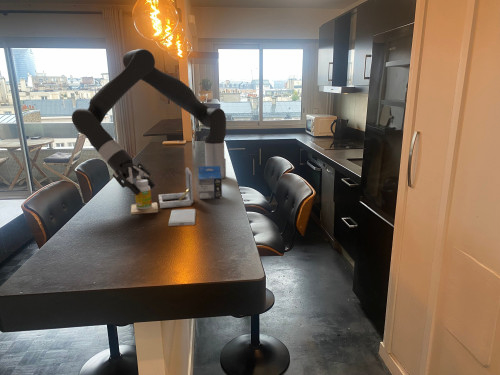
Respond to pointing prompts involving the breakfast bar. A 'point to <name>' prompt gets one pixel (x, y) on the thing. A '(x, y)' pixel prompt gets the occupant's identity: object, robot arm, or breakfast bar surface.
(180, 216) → the hard drive
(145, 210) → the cork pad
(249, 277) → the breakfast bar surface
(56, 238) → the breakfast bar surface
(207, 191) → the blue and grey carton
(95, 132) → the robot arm
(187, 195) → the open hinged lid box
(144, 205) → the supplement bottle
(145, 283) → the breakfast bar surface
